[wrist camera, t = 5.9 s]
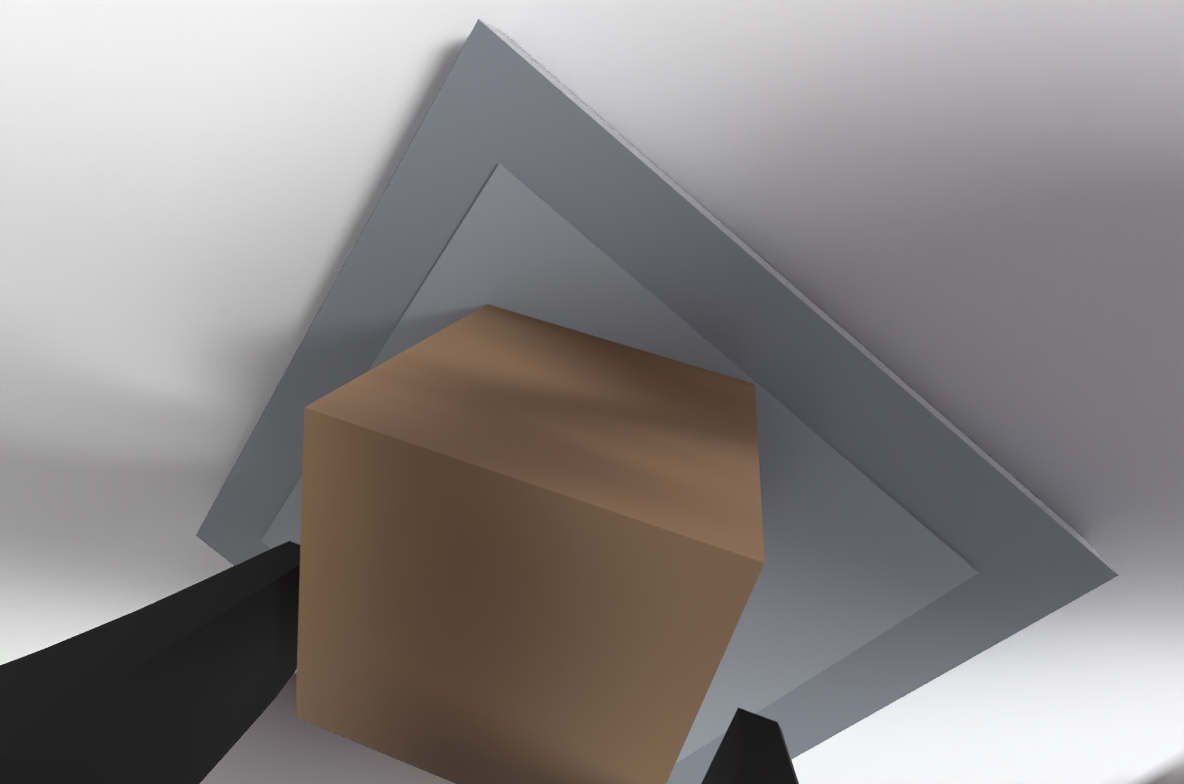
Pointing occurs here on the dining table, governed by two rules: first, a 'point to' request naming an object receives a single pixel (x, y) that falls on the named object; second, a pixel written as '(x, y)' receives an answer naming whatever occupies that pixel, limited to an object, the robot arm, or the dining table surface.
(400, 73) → the dining table surface
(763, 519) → the coaster
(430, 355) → the walnut block
